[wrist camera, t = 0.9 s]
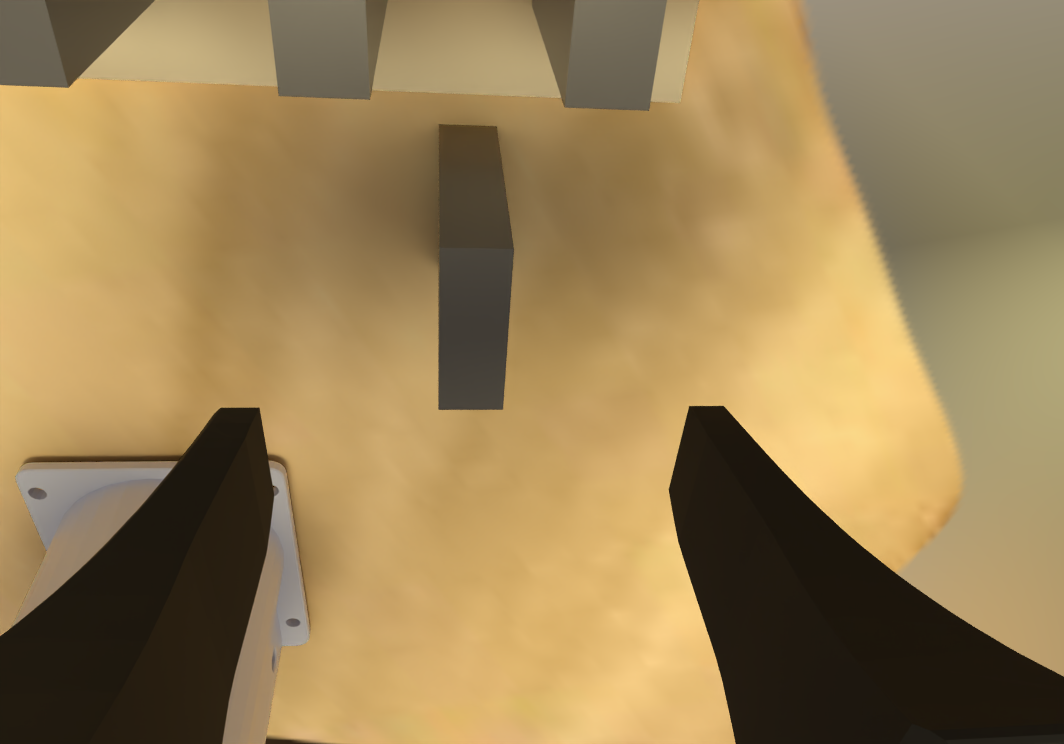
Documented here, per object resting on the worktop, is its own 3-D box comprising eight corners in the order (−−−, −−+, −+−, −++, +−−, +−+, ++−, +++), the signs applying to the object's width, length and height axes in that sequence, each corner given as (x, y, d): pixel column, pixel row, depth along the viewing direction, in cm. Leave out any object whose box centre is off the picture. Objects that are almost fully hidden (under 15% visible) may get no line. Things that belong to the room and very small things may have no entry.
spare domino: (489, 266, 23) (503, 409, 18) (438, 266, 23) (438, 409, 18) (496, 126, 20) (514, 249, 16) (439, 124, 20) (439, 248, 16)
